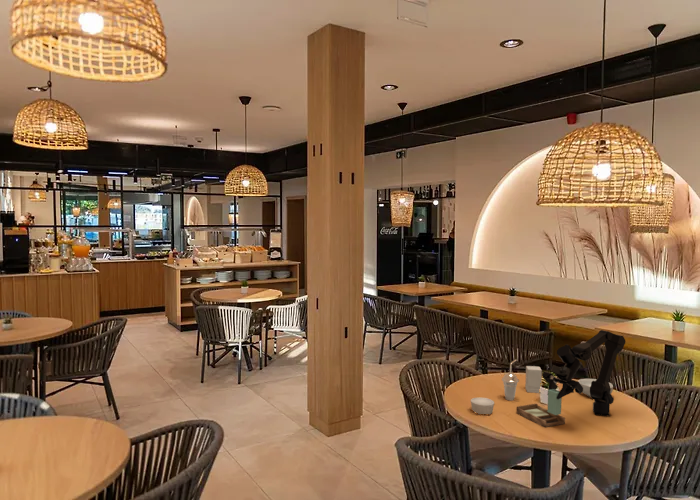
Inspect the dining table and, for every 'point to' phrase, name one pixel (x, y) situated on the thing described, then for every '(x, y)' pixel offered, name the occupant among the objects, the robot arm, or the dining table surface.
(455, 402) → the dining table surface
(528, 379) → the supplement box
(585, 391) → the cereal bowl
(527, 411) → the tray
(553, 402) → the block
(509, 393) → the cup with straw
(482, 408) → the ramekin
